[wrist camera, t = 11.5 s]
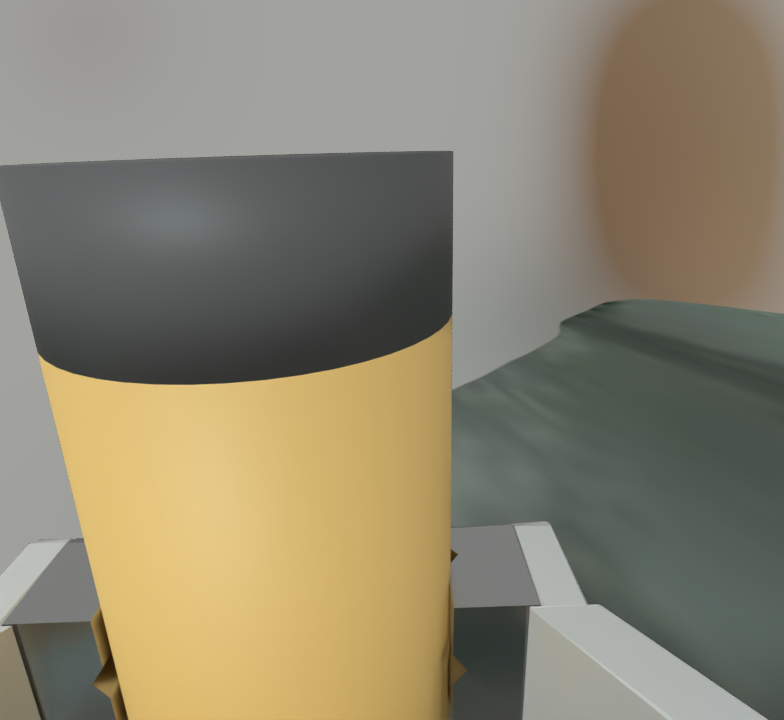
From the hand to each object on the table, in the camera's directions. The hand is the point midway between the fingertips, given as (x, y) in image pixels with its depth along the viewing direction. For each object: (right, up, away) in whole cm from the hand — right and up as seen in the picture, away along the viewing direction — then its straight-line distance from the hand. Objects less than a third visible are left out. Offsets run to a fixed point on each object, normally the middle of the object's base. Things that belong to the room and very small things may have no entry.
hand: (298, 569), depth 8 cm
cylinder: (0, -9, +2) cm, 9 cm away
